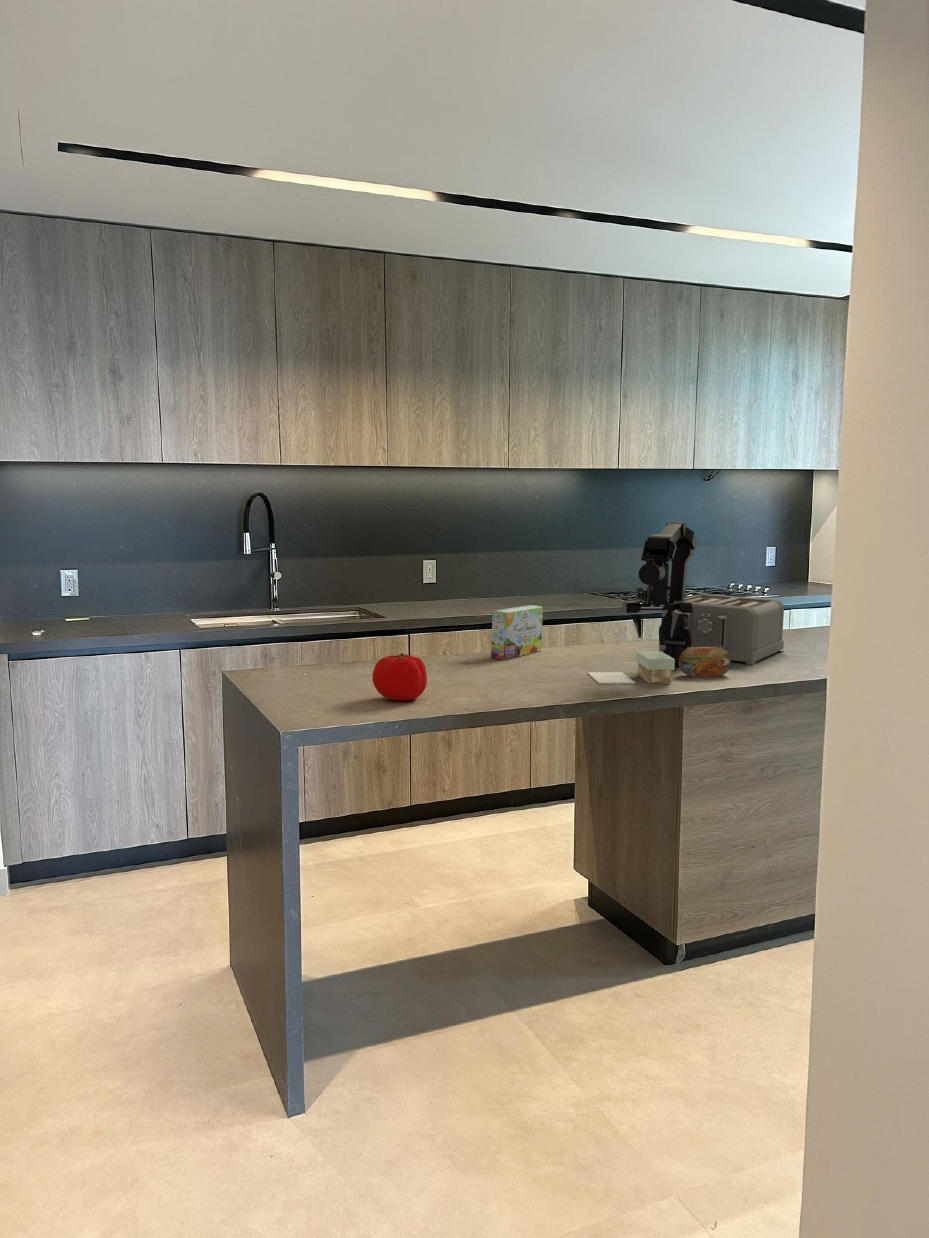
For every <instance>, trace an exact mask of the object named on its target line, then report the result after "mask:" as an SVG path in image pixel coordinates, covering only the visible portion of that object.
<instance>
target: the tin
mask: <svg viewBox="0 0 929 1238" xmlns="http://www.w3.org/2000/svg"><path fill="white" fill-rule="evenodd" d="M731 667H732V660H731V656H730V654H729V652H728V651H727V650H725V649H724V648H721V647H695V648H688V649H686V650H684V651H683V652H682V653H681V655H680V657H679V667H678V668H679V669H680V671H681V672H682V673H683V674H684V675H686V676H688V677H691V678H704V677H708V678H709V677H711V678H712V677H721V676H724V675H725V674H727V673H728V672H729V671H730V669H731Z"/></svg>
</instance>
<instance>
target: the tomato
mask: <svg viewBox="0 0 929 1238" xmlns="http://www.w3.org/2000/svg"><path fill="white" fill-rule="evenodd" d="M371 678H372V679H371V680H372V683H373V686H374V688H375V689H376V691H377V693H378V694H380V695H381V696H382V697H383V698H386V699H389V700H392V701H401V702H402V701H410V700H411V701H412V700H416V699H418V698H419V697H421V695H422V694H423V693H424V692H425V690H426V687H427V683H428V676H427V670H426V665H425V663H424V662H423V660H422V659H421V658H419V657H417V656H415V655H410V654H407V653H403V652H400V653H399V654H397V655H387V656H385V657H382V658H381V659H379V660H377V662H376V664H375V665H374V668H373V671H372V677H371Z"/></svg>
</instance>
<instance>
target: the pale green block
mask: <svg viewBox="0 0 929 1238" xmlns="http://www.w3.org/2000/svg"><path fill="white" fill-rule="evenodd" d="M635 661H636V662H637V664H638V663H640V664H641V665H642V666H644V667H645V668H647V669H648V670H672V671H674V670H675V667H674V666H675V659H673V658H672V657H670V656H668V655H667V654H665V653H663V652H661V651H659V650H655V651H653V650H651V651H643V650H639V651H636V653H635Z"/></svg>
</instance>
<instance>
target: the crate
mask: <svg viewBox="0 0 929 1238" xmlns="http://www.w3.org/2000/svg"><path fill="white" fill-rule="evenodd" d="M672 674H673V670H648V669H647V668H645V667H644V666H642V665H641V664H640V663H638V662H637V676H638V677H639V678H641V679H642V680H644V681H645V682H646V681H647V682H646V683H647V684H649V685H659V684H660V685H670V684H672V677H673V675H672Z"/></svg>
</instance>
